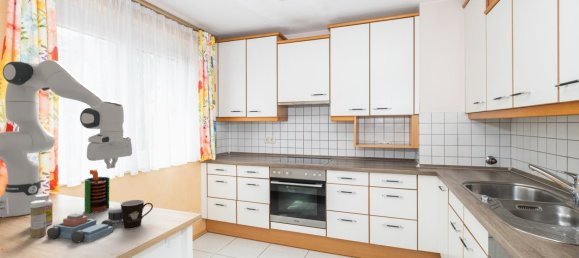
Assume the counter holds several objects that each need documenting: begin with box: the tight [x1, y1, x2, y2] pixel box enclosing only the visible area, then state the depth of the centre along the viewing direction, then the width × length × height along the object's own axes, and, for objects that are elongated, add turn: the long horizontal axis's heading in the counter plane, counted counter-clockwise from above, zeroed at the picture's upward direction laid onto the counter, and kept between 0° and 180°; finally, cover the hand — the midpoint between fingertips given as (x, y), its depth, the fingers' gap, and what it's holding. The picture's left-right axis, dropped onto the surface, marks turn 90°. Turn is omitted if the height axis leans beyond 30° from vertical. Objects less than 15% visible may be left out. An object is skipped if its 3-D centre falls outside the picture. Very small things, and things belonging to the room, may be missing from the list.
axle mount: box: [112, 219, 123, 226], centre depth 123 cm, size 6×6×5 cm
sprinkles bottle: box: [30, 200, 47, 239], centre depth 107 cm, size 5×5×14 cm
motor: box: [84, 169, 110, 214], centre depth 138 cm, size 10×9×20 cm
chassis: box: [46, 215, 114, 244], centre depth 110 cm, size 20×14×4 cm
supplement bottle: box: [35, 193, 54, 227], centre depth 118 cm, size 7×7×13 cm
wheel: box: [107, 205, 123, 220], centre depth 123 cm, size 7×7×4 cm
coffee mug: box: [120, 199, 154, 230], centre depth 119 cm, size 12×9×10 cm
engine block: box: [62, 213, 88, 227], centre depth 111 cm, size 6×5×5 cm
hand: (110, 168), depth 125 cm, fingers closed
